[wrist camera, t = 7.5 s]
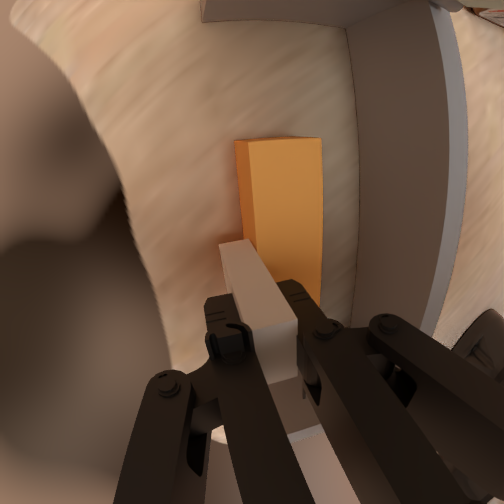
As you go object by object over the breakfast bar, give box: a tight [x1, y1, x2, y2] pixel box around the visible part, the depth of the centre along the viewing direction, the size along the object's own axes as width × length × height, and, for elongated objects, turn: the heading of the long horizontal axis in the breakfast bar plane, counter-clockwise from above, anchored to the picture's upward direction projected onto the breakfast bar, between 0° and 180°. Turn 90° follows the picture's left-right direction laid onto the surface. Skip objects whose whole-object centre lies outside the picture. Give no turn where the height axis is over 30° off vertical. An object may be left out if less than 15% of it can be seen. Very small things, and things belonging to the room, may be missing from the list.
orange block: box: [234, 136, 323, 307], centre depth 15 cm, size 12×3×4 cm, turn 4°
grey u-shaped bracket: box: [200, 0, 468, 443], centre depth 12 cm, size 25×10×7 cm, turn 6°
